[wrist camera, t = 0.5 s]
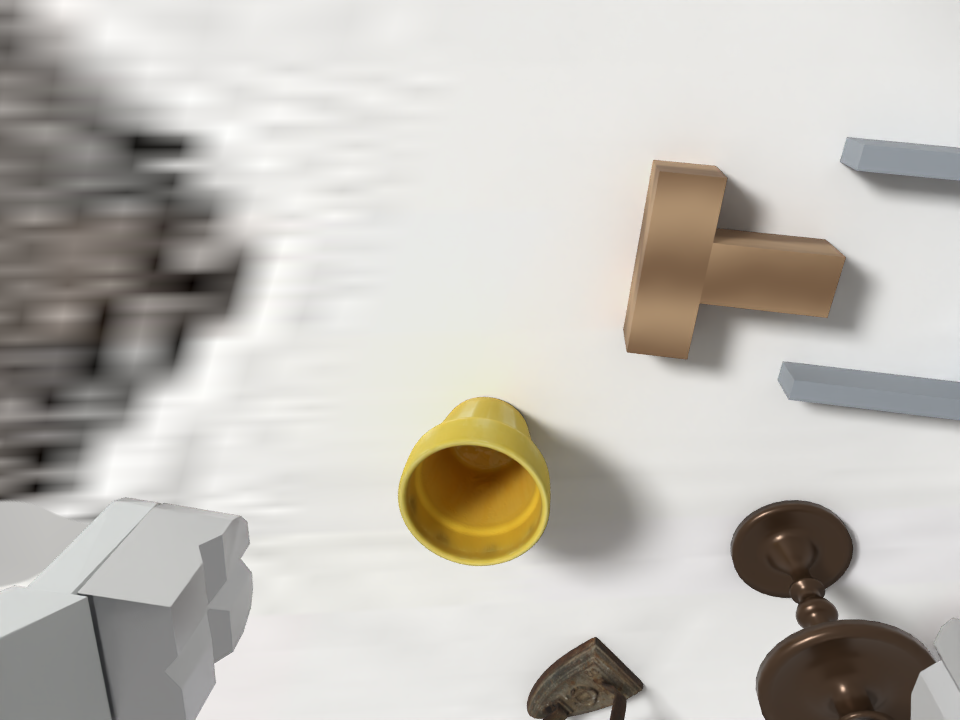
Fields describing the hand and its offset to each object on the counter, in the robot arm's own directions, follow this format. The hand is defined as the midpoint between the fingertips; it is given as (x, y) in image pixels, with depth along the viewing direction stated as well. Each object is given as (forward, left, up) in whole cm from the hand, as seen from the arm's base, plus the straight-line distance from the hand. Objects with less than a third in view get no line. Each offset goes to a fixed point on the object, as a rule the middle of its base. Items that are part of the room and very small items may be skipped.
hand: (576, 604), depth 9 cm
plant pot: (+23, -4, -42) cm, 49 cm away
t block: (+7, +11, -42) cm, 44 cm away
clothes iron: (+49, +6, -43) cm, 65 cm away
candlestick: (+30, +21, -42) cm, 56 cm away
